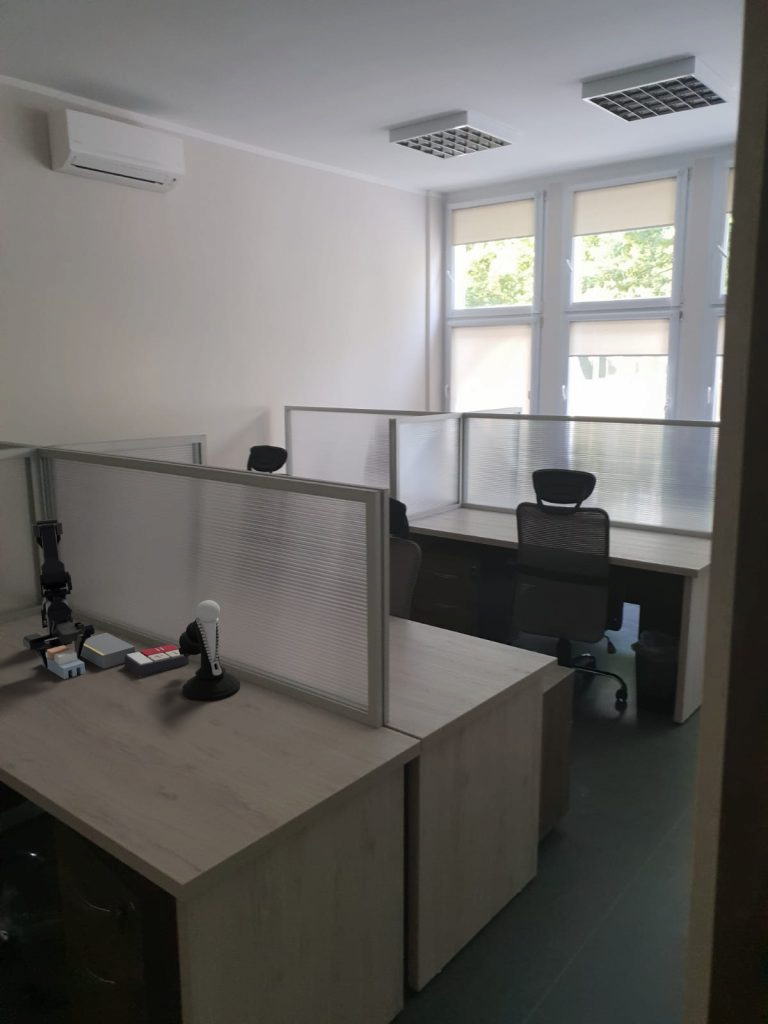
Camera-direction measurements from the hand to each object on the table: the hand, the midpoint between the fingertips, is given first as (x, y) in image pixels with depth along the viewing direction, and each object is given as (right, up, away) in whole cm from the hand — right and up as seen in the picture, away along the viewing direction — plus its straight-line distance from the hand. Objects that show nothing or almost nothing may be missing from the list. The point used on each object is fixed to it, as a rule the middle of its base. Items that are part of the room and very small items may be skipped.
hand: (62, 663), depth 226 cm
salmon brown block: (-2, +2, +1) cm, 3 cm away
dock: (+9, 0, +9) cm, 13 cm away
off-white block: (+2, +1, -2) cm, 3 cm away
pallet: (0, -2, 0) cm, 2 cm away
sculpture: (+44, -4, -12) cm, 46 cm away
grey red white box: (+27, -1, +2) cm, 27 cm away
